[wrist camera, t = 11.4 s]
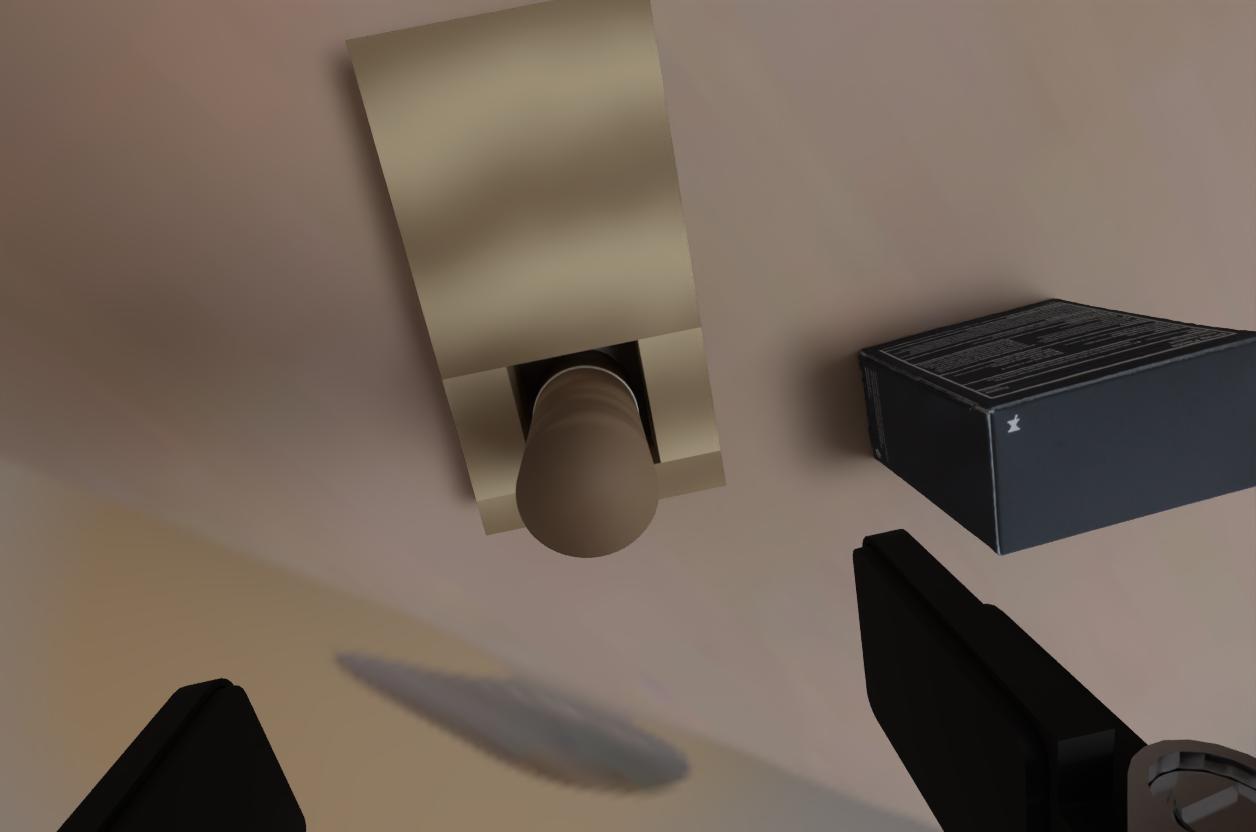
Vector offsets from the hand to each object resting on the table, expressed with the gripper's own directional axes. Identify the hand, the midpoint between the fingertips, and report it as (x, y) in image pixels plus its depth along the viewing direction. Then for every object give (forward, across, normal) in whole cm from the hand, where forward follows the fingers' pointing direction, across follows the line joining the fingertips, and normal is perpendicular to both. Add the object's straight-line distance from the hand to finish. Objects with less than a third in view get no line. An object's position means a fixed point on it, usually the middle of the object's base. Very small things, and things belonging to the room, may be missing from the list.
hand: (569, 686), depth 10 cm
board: (+22, 0, -4) cm, 23 cm away
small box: (+23, -19, +5) cm, 30 cm away
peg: (+22, 0, +2) cm, 22 cm away
